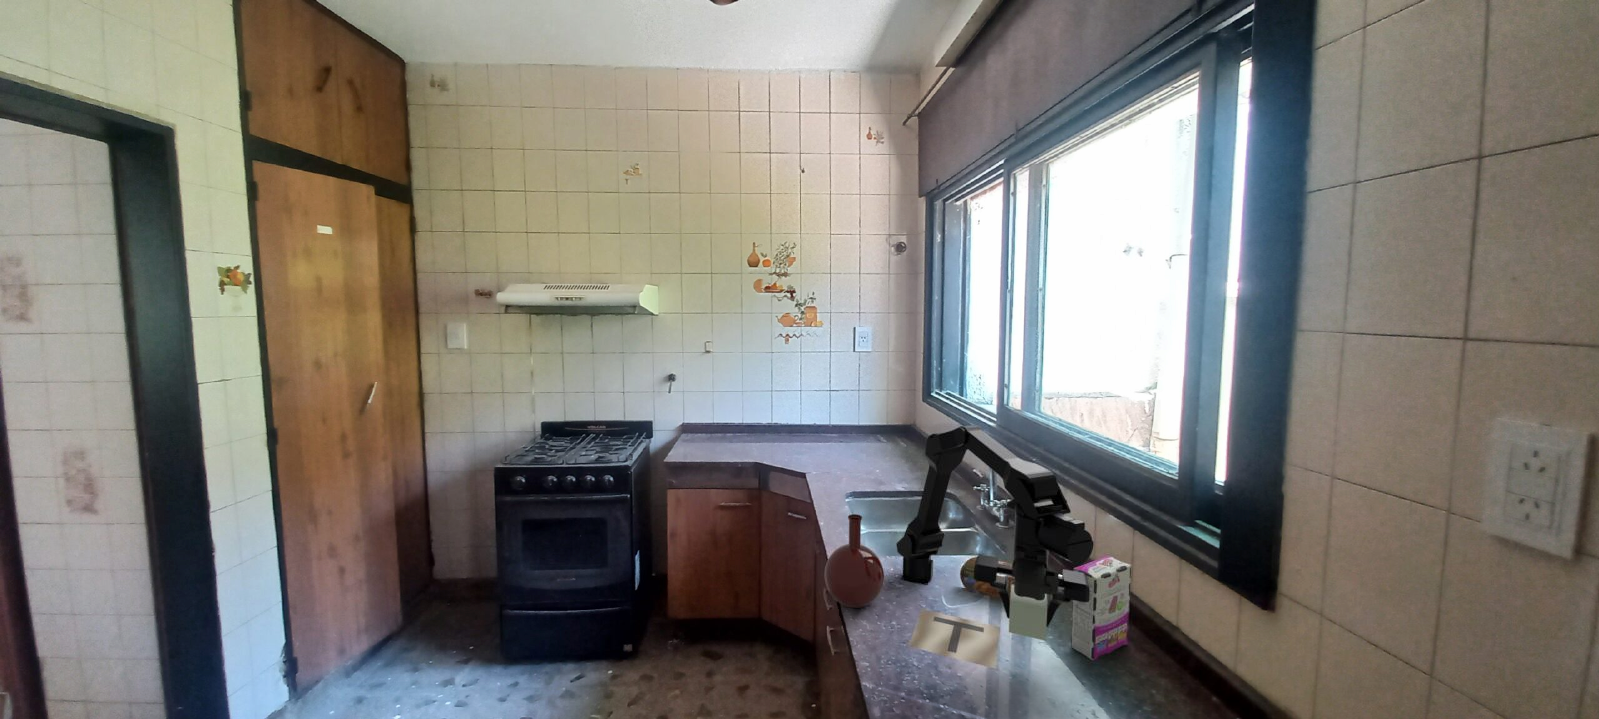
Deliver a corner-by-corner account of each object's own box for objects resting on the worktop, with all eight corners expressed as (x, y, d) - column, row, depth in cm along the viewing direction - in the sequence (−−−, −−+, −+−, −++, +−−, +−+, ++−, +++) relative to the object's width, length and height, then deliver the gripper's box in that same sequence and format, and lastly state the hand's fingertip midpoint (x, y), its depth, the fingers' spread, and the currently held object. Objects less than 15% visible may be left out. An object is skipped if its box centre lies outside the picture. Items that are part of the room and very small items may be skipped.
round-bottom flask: (845, 626, 110) (846, 533, 108) (813, 596, 121) (814, 512, 119) (895, 610, 116) (897, 522, 114) (861, 583, 127) (862, 502, 126)
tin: (959, 591, 124) (960, 556, 123) (961, 585, 127) (962, 551, 126) (1028, 608, 117) (1030, 571, 116) (1030, 601, 120) (1031, 565, 119)
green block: (1008, 632, 95) (1010, 600, 94) (1010, 614, 100) (1011, 584, 100) (1045, 640, 92) (1047, 608, 92) (1044, 622, 98) (1046, 591, 97)
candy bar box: (1103, 631, 109) (1108, 554, 107) (1128, 645, 104) (1133, 565, 103) (1068, 647, 103) (1072, 566, 102) (1092, 662, 99) (1097, 578, 97)
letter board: (908, 648, 103) (908, 645, 103) (921, 610, 116) (922, 609, 116) (995, 670, 96) (995, 668, 96) (1000, 628, 109) (1000, 626, 109)
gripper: (972, 547, 91) (968, 633, 93) (1095, 569, 84) (1089, 662, 85) (978, 523, 101) (975, 601, 103) (1088, 541, 94) (1083, 624, 95)
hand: (1027, 621), depth 96 cm, fingers closed on green block, 6 cm apart
